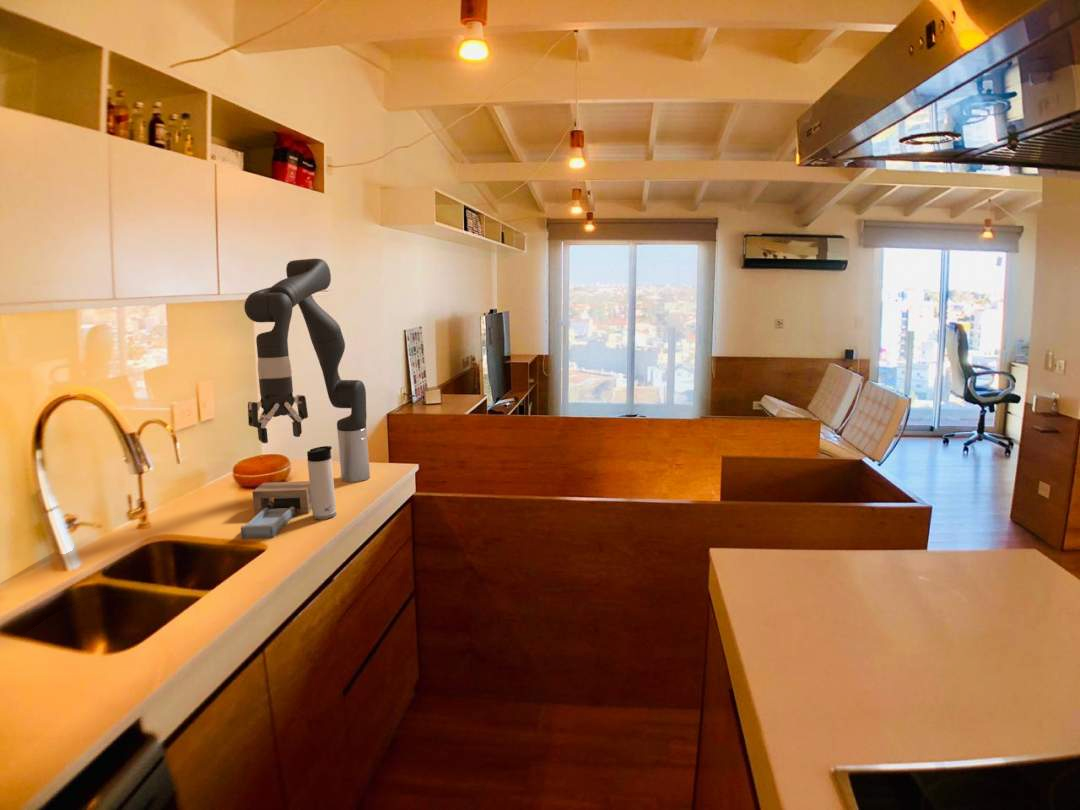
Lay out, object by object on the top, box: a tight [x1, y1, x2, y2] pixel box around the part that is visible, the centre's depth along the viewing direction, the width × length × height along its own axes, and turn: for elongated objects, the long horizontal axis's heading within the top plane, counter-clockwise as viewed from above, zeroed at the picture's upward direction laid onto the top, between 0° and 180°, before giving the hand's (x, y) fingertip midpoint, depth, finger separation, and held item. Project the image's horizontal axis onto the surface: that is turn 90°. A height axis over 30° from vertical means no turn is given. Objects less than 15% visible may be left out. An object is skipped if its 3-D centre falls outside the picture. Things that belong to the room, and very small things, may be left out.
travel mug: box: [306, 445, 337, 520], centre depth 175 cm, size 6×7×20 cm
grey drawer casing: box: [252, 480, 312, 516], centre depth 183 cm, size 8×15×7 cm, turn 92°
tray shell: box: [240, 506, 296, 539], centre depth 170 cm, size 16×8×3 cm, turn 2°
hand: (280, 439), depth 158 cm, fingers open, 8 cm apart
